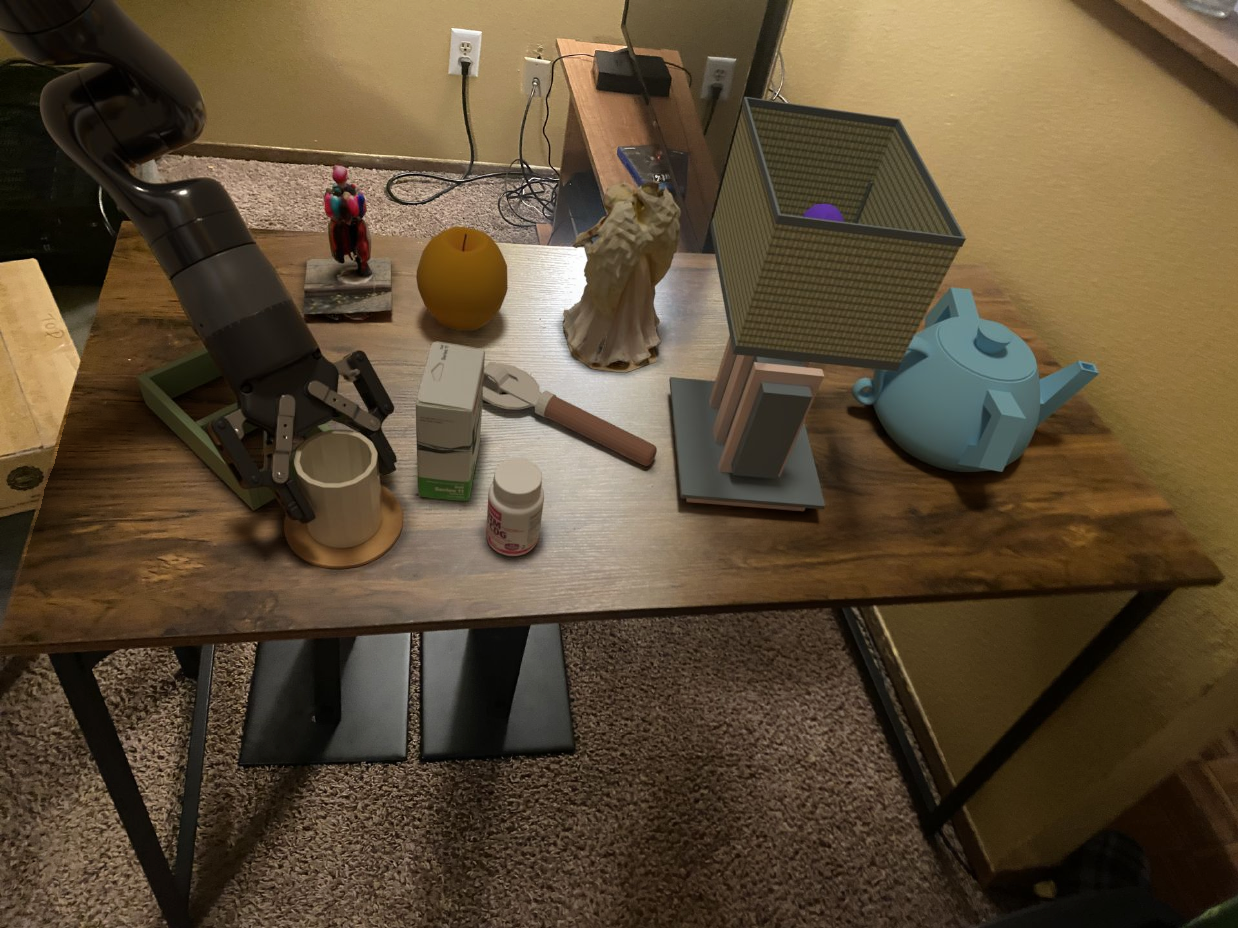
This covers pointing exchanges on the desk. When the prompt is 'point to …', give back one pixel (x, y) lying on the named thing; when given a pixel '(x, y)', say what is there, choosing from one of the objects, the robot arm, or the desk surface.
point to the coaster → (348, 556)
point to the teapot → (967, 390)
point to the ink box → (449, 420)
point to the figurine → (623, 278)
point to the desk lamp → (806, 290)
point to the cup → (340, 487)
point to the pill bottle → (515, 507)
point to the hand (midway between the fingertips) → (350, 496)
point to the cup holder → (186, 377)
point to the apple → (462, 278)
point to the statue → (347, 260)
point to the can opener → (559, 411)
